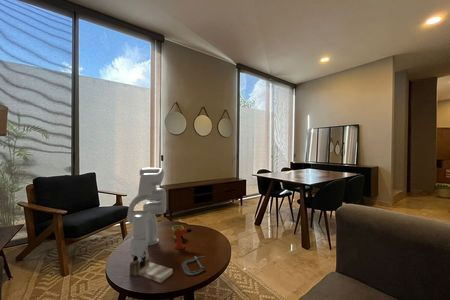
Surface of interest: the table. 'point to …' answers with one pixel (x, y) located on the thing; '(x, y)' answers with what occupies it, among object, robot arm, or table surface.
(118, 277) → the table surface
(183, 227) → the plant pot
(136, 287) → the table surface
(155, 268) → the board
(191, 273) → the c clamp
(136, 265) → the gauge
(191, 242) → the table surface
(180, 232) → the toy drill
